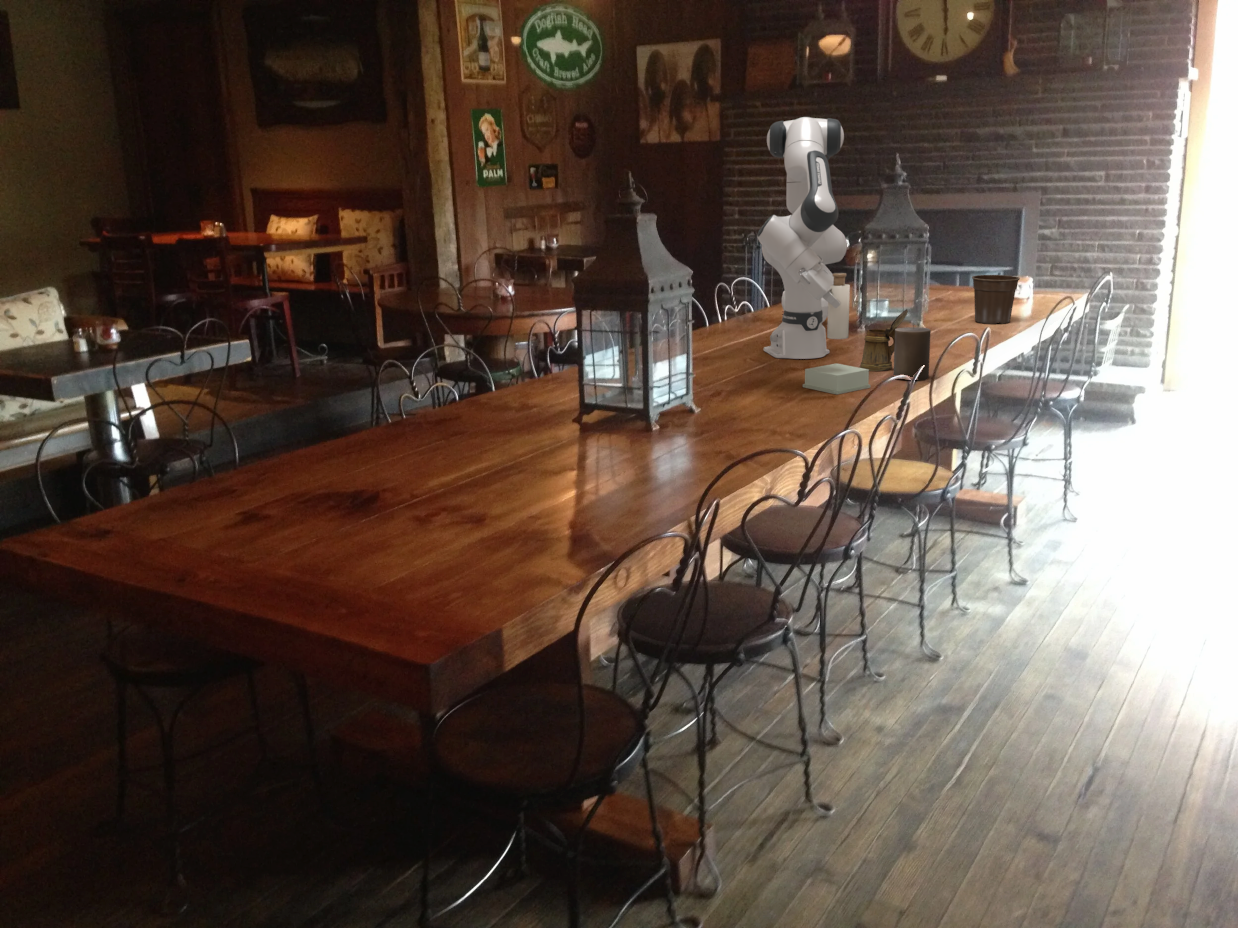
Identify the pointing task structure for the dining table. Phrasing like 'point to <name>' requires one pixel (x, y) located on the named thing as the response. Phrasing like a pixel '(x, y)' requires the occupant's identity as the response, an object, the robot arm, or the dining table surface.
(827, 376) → the plinth
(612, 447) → the dining table surface
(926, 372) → the pillar candle
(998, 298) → the plant pot
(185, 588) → the dining table surface
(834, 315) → the stoneware bottle
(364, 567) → the dining table surface
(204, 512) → the dining table surface
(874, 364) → the wooden mug
